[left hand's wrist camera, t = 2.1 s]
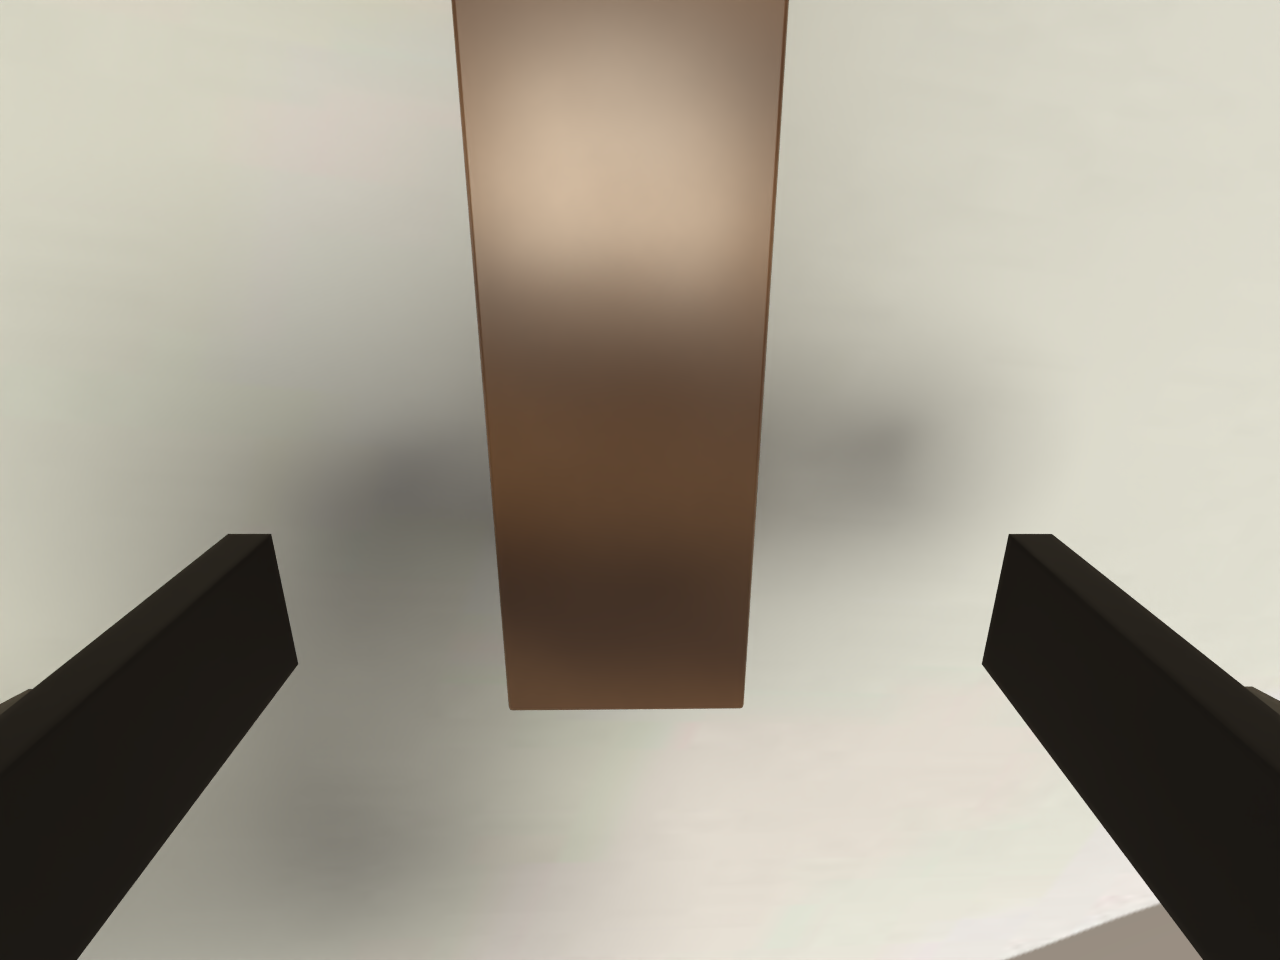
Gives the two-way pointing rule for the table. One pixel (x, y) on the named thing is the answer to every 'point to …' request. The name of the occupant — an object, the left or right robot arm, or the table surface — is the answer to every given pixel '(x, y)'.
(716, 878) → the table surface
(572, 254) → the beam
